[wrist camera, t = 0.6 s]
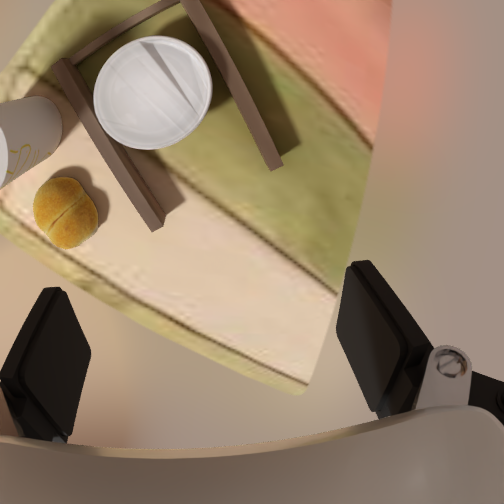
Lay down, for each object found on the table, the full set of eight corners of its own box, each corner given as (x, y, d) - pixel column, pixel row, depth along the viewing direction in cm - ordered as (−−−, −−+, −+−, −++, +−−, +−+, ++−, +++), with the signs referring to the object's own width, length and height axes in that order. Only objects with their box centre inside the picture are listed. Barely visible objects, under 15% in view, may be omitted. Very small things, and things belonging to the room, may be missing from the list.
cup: (23, 173, 32) (-31, 213, 21) (-1, 118, 27) (-62, 141, 17) (72, 143, 31) (21, 174, 21) (47, 83, 27) (-12, 92, 17)
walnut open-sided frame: (189, -11, 25) (188, -19, 22) (278, 158, 36) (283, 165, 33) (62, 66, 26) (50, 66, 24) (155, 221, 38) (152, 232, 35)
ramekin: (228, 62, 30) (232, 58, 25) (187, 154, 34) (184, 166, 30) (132, 29, 26) (119, 21, 22) (95, 123, 31) (78, 131, 26)
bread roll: (67, 161, 32) (53, 171, 29) (111, 218, 37) (102, 233, 33) (27, 200, 34) (12, 213, 30) (68, 251, 38) (58, 268, 35)
